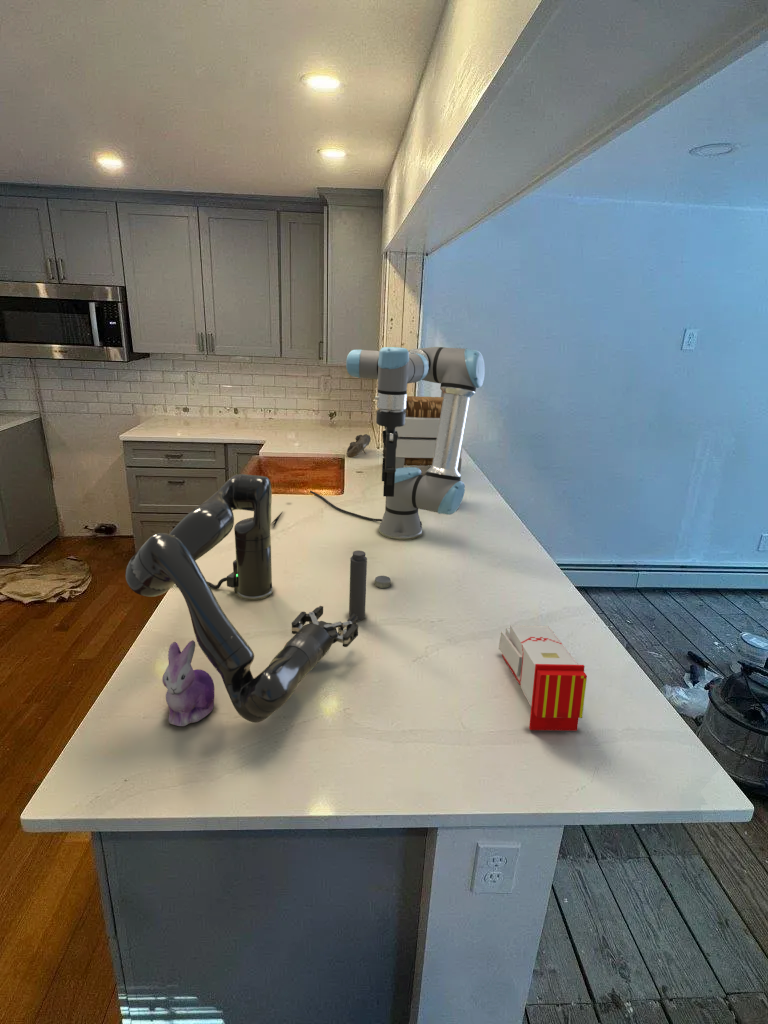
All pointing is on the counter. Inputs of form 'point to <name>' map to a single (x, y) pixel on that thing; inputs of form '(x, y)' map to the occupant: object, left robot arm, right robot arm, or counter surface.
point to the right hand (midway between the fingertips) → (387, 488)
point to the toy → (545, 676)
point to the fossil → (358, 445)
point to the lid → (382, 581)
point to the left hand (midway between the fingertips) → (338, 613)
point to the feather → (276, 520)
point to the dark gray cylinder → (358, 584)
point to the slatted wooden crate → (419, 432)
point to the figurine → (187, 687)
